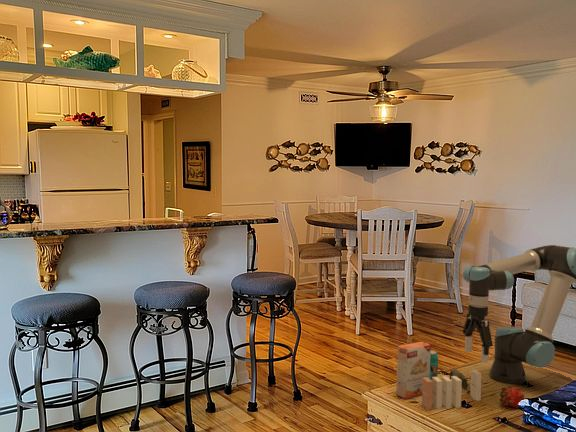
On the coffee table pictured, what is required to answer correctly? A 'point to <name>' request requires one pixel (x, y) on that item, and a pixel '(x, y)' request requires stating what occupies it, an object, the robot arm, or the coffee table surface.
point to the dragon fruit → (511, 396)
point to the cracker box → (412, 368)
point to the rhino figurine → (456, 373)
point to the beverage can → (433, 364)
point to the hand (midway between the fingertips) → (476, 357)
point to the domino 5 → (475, 385)
